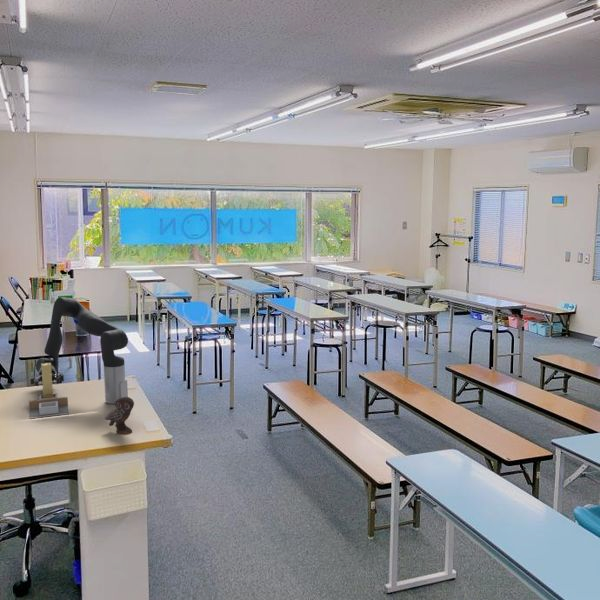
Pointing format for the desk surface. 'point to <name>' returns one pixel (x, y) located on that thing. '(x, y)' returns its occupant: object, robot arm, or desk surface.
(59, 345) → the robot arm
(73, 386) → the desk surface
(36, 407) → the plate
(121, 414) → the figurine
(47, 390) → the post
